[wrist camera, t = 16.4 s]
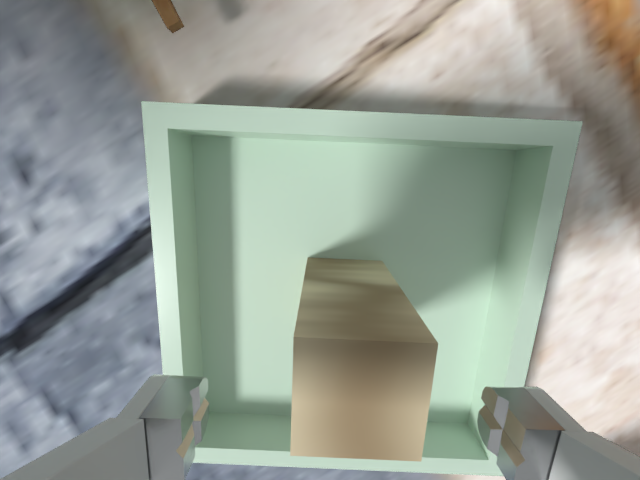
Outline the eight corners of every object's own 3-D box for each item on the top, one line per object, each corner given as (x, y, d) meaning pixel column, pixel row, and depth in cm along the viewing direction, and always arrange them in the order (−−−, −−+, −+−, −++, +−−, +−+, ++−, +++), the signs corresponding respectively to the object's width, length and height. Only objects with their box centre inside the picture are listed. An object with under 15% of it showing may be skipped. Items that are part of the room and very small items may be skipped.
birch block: (305, 325, 17) (290, 455, 9) (307, 257, 16) (293, 336, 8) (375, 328, 17) (421, 461, 9) (382, 260, 16) (438, 343, 8)
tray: (193, 417, 19) (170, 461, 16) (176, 115, 15) (141, 101, 12) (476, 429, 19) (504, 476, 16) (532, 131, 15) (582, 121, 12)
